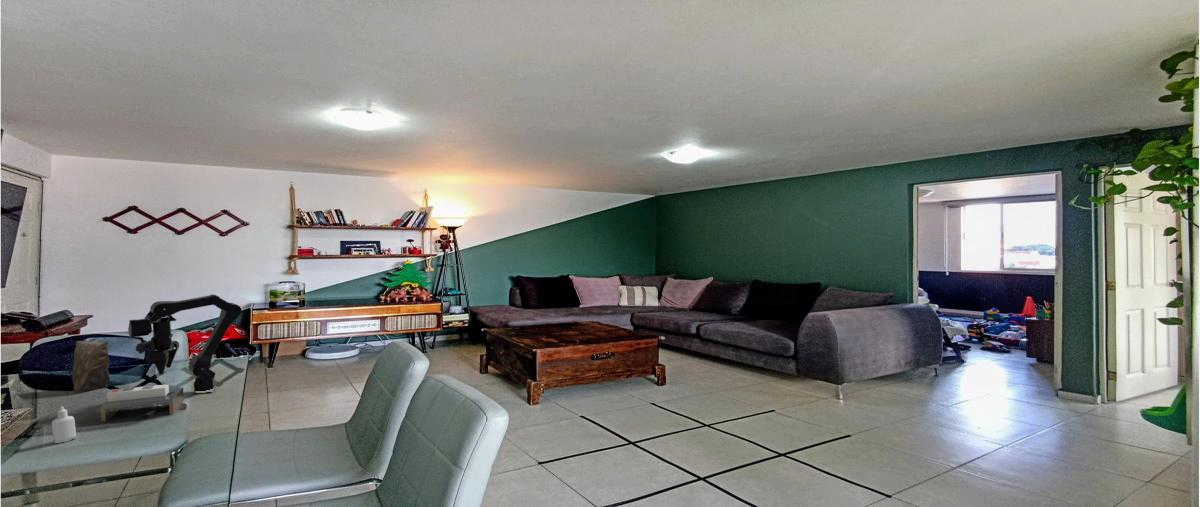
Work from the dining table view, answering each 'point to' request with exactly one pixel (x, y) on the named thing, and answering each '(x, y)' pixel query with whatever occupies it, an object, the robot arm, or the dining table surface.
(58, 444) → the dining table surface
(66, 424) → the eye dropper bottle
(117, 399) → the power strip
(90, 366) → the brown paper bag
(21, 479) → the dining table surface
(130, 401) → the keyhole board
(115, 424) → the dining table surface
